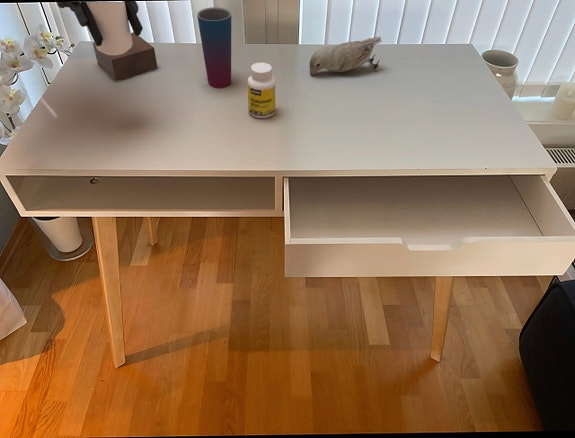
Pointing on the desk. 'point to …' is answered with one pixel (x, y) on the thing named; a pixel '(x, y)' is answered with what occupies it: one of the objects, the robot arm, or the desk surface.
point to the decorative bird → (344, 56)
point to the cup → (216, 44)
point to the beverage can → (112, 26)
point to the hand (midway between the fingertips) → (119, 37)
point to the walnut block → (128, 60)
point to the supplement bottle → (261, 91)
